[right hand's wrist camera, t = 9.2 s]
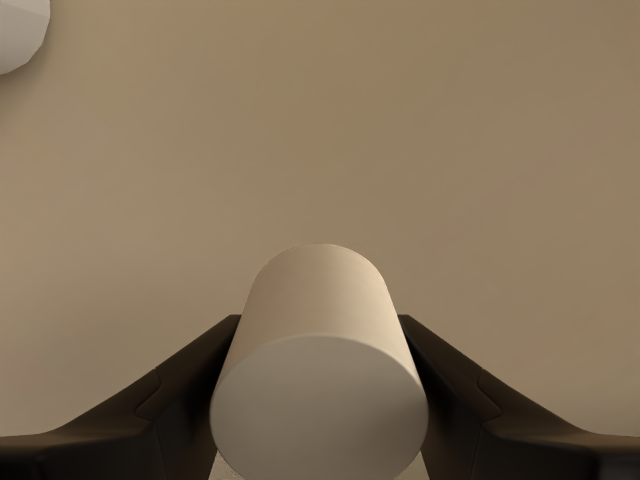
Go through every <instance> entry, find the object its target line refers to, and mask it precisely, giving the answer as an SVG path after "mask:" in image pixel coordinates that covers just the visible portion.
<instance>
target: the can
mask: <svg viewBox="0 0 640 480" xmlns="http://www.w3.org/2000/svg"><path fill="white" fill-rule="evenodd" d="M49 20H50V0H0V74H6V73H8V72H10V71H12V70H14V69H16V68H18V67H20V66H22V65H24V64H26V63H27V62H28V61H29V60H30V59H31V57H32V56H33V55H34V54H35V52H36V51H37V50H38V49H39V47H40V46H41V45H42V44H43V40H44V37H45V34H46V30H47V27H48V24H49Z"/></svg>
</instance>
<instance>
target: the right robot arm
mask: <svg viewBox="0 0 640 480" xmlns="http://www.w3.org/2000/svg"><path fill="white" fill-rule="evenodd" d="M241 316H242V315H229V316H228V317H226V318H225V319H223V320H222V321H221V322H219V323H218V324H216V325H215V326H213V327H212V328H211V329H209V330H208V331H206V332H205V333H204V334H202V335H201V336H199V337H198V338H197V339H195V340H194V341H192V342H191V343H190V344H188V345H187V346H185V347H184V348H182V349H181V350H180V351H178V352H177V353H175V354H174V355H173V356H171V357H170V358H168V359H167V360H166V361H164V362H163V363H161V364H160V365H158V366H157V367H156V368H155V369H153V370H151V371H150V372H148V373H147V374H146V375H144V376H143V377H141V378H140V379H138V380H137V381H135V382H134V383H132V384H131V385H130V386H128V387H126V388H125V389H123V390H122V391H120V392H118V393H117V394H115V395H114V396H112V397H110V398H109V399H107V400H105V401H104V402H102V403H100V404H99V405H97V406H95V407H94V408H92V409H90V410H89V411H87V412H85V413H84V414H82V415H80V416H79V417H77V418H75V419H74V420H72V421H70V422H68V423H67V424H65V425H63V426H61V427H59V428H57V429H54V430H51V431H48V432H45V433H41V434H34V435H20V436H7V437H0V480H208V479H209V475H210V472H211V469H212V466H213V463H214V460H215V456H216V453H217V450H218V449H217V447H216V445H215V443H214V440H213V437H212V434H211V429H210V423H209V408H210V403H211V398H212V395H213V392H214V390H215V387H216V384H217V381H218V379H219V376H220V373H221V370H222V368H223V365H224V362H225V360H226V357H227V354H228V351H229V349H230V346H231V343H232V341H233V338H234V335H235V332H236V330H237V327H238V324H239V321H240V319H241ZM397 317H398V320H399V323H400V326H401V328H402V331H403V334H404V337H405V339H406V342H407V345H408V348H409V350H410V353H411V356H412V359H413V361H414V364H415V367H416V370H417V373H418V375H419V378H420V381H421V384H422V386H423V389H424V392H425V395H426V399H427V403H428V409H429V422H428V430H427V433H426V437H425V440H424V443H423V445H422V447H421V449H420V450H421V453H422V456H423V460H424V463H425V466H426V469H427V473H428V476H429V479H430V480H640V437H630V436H616V435H603V434H596V433H592V432H589V431H586V430H583V429H580V428H578V427H576V426H574V425H572V424H570V423H569V422H567V421H565V420H564V419H562V418H560V417H559V416H557V415H555V414H554V413H552V412H550V411H549V410H547V409H545V408H544V407H542V406H540V405H539V404H537V403H535V402H534V401H532V400H530V399H529V398H527V397H525V396H524V395H522V394H521V393H519V392H517V391H516V390H514V389H513V388H511V387H510V386H508V385H507V384H505V383H504V382H502V381H501V380H499V379H498V378H496V377H495V376H493V375H492V374H491V373H489V372H488V371H486V370H485V369H483V368H482V367H481V366H479V365H478V364H476V363H475V362H474V361H472V360H471V359H469V358H468V357H467V356H465V355H464V354H462V353H461V352H460V351H458V350H457V349H455V348H454V347H453V346H451V345H450V344H448V343H447V342H446V341H444V340H443V339H441V338H440V337H439V336H437V335H436V334H435V333H433V332H432V331H430V330H429V329H428V328H426V327H425V326H423V325H422V324H421V323H419V322H418V321H416V320H415V319H414V318H412V317H411V316H409V315H397Z"/></svg>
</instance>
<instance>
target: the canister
mask: <svg viewBox="0 0 640 480" xmlns="http://www.w3.org/2000/svg"><path fill="white" fill-rule="evenodd" d="M428 422H429V409H428V403H427V399H426V395H425V392H424V389H423V386H422V384H421V381H420V378H419V375H418V373H417V370H416V367H415V364H414V361H413V359H412V356H411V353H410V350H409V348H408V345H407V342H406V339H405V337H404V334H403V331H402V328H401V326H400V323H399V320H398V317H397V314H396V312H395V309H394V306H393V303H392V301H391V298H390V295H389V292H388V290H387V287H386V284H385V282H384V280H383V278H382V276H381V275H380V273H379V272H378V270H377V269H376V268H375V267H374V266H373V265H372V264H371V263H370V262H369V261H368V260H367V259H365V258H364V257H363V256H361V255H360V254H358V253H356V252H354V251H352V250H350V249H347V248H344V247H342V246H337V245H333V244H324V243H316V244H306V245H301V246H297V247H294V248H291V249H289V250H286V251H284V252H282V253H281V254H279V255H277V256H276V257H274V258H273V259H272V260H271V261H269V262H268V263H267V264H266V265H265V266H264V267H263V269H262V270H261V271H260V273H259V274H258V276H257V277H256V279H255V281H254V283H253V286H252V289H251V291H250V294H249V297H248V300H247V302H246V305H245V308H244V311H243V313H242V316H241V319H240V321H239V324H238V327H237V330H236V332H235V335H234V338H233V341H232V343H231V346H230V349H229V351H228V354H227V357H226V360H225V362H224V365H223V368H222V370H221V373H220V376H219V379H218V381H217V384H216V387H215V390H214V392H213V395H212V398H211V403H210V408H209V423H210V429H211V434H212V437H213V440H214V443H215V445H216V447H217V449H218V451H219V453H220V454H221V456H222V457H223V458H224V460H225V461H226V462H227V463H228V464H229V466H230V467H231V468H232V469H233V470H234V471H235V472H237V473H238V474H239V475H240V476H242V477H243V478H244V479H246V480H392V479H394V478H395V477H396V476H398V475H399V474H400V473H401V472H402V471H404V470H405V469H406V468H407V467H408V466H409V464H410V463H411V462H412V461H413V460H414V458H415V457H416V455H417V454H418V452H419V451H420V449H421V447H422V445H423V443H424V440H425V437H426V433H427V430H428Z"/></svg>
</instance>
